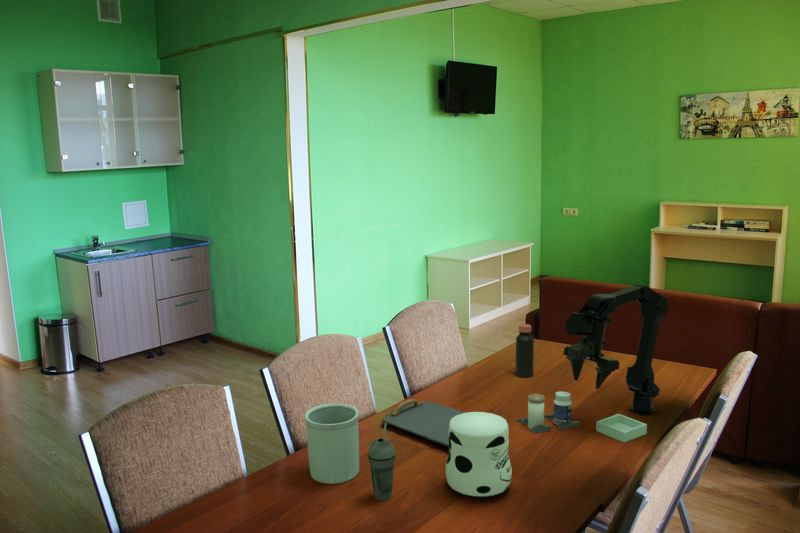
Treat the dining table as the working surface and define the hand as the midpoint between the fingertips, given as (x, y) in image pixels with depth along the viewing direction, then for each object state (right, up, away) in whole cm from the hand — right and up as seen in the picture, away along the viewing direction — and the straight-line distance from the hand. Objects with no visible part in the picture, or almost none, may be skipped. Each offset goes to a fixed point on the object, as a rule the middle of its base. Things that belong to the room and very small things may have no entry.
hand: (586, 384), depth 213 cm
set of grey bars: (-11, -14, +6) cm, 19 cm away
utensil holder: (-77, -21, -23) cm, 83 cm away
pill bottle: (-6, -14, +7) cm, 16 cm away
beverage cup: (-63, -23, -37) cm, 76 cm away
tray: (+10, -15, -2) cm, 18 cm away
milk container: (-38, -22, -33) cm, 55 cm away
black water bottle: (-10, -6, +53) cm, 54 cm away
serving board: (-45, -16, +4) cm, 48 cm away
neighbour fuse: (-15, -14, +4) cm, 21 cm away
